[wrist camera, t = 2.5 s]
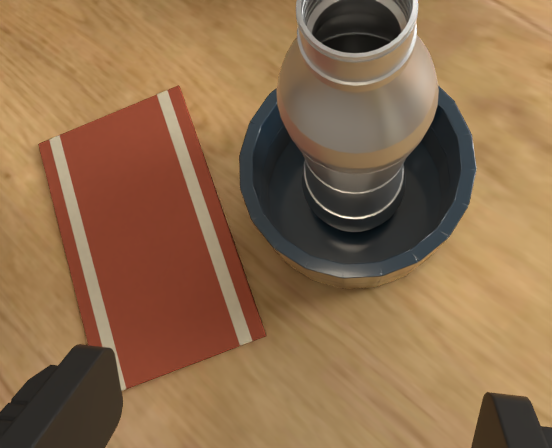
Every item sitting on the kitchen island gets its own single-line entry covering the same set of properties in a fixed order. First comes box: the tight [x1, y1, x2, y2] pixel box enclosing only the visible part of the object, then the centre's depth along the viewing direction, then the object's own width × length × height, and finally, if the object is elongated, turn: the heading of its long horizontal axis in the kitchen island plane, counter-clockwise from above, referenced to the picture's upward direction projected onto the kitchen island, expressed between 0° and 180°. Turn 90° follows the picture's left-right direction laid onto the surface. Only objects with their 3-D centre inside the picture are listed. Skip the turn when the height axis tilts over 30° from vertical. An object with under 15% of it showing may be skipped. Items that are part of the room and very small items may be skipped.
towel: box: [38, 86, 266, 391], centre depth 36 cm, size 20×12×1 cm, turn 20°
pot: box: [239, 86, 477, 289], centre depth 31 cm, size 13×13×6 cm
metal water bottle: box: [277, 0, 439, 232], centre depth 24 cm, size 6×7×20 cm
